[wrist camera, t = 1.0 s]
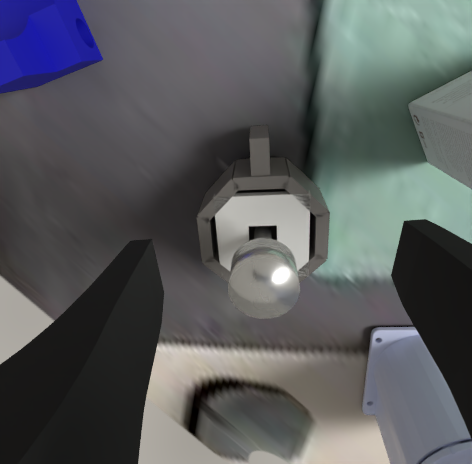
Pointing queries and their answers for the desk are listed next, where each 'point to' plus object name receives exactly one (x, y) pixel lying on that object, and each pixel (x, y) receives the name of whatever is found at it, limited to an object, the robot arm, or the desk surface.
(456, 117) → the skincare box
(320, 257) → the press
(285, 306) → the plunger
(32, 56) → the blue u-shaped cradle block
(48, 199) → the desk surface
